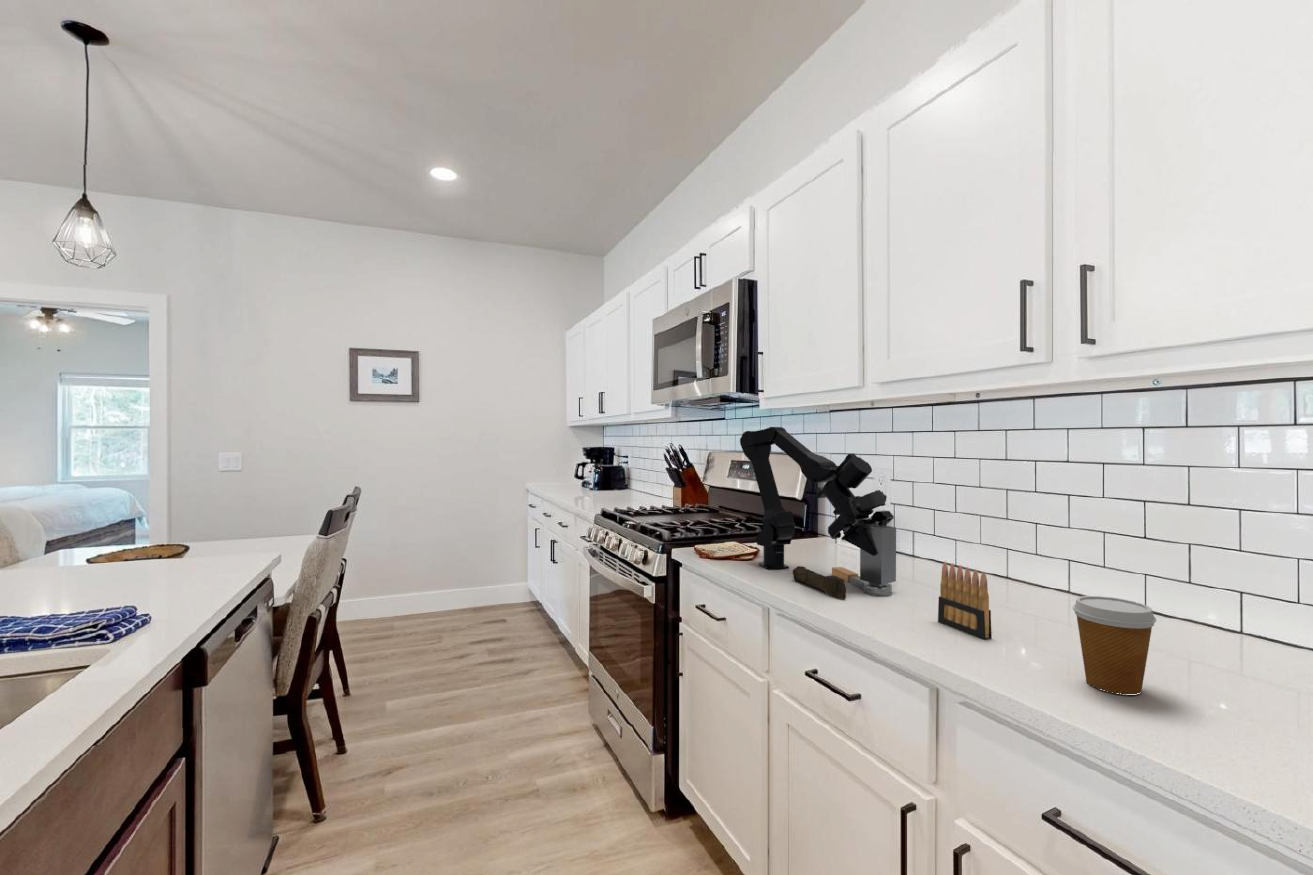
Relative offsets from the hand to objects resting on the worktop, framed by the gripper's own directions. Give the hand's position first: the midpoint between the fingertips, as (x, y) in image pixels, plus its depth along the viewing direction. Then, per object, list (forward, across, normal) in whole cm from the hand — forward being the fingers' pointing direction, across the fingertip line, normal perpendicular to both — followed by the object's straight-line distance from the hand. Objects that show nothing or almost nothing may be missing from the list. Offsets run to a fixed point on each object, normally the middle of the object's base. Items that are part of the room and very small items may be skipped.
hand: (883, 553), depth 133 cm
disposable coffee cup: (+41, -17, -28) cm, 52 cm away
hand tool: (0, -8, +15) cm, 17 cm away
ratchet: (0, +3, +13) cm, 14 cm away
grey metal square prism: (+4, 0, +6) cm, 7 cm away
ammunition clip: (+23, -10, -10) cm, 27 cm away
